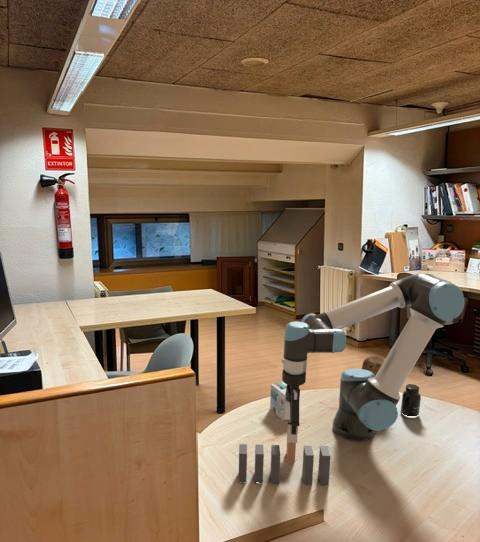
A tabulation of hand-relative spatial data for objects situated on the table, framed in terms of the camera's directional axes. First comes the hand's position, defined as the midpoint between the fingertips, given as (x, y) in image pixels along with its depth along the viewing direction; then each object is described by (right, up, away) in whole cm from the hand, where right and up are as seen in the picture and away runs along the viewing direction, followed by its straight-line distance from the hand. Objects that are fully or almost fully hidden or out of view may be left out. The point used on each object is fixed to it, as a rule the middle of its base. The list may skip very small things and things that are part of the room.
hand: (290, 430), depth 150 cm
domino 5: (+4, -12, -9) cm, 16 cm away
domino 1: (-16, -12, -9) cm, 22 cm away
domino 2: (-11, -12, -9) cm, 18 cm away
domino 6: (+9, -12, -9) cm, 18 cm away
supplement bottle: (+51, -5, +31) cm, 59 cm away
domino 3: (-6, -12, -9) cm, 16 cm away
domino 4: (0, -10, +2) cm, 10 cm away
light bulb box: (+1, -4, +30) cm, 30 cm away
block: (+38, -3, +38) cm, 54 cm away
